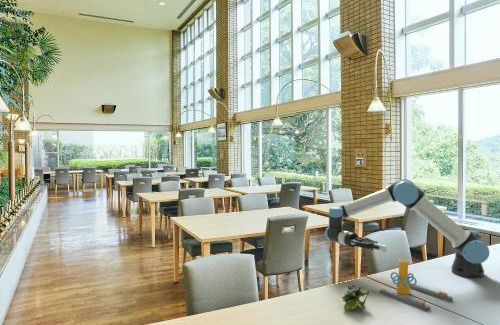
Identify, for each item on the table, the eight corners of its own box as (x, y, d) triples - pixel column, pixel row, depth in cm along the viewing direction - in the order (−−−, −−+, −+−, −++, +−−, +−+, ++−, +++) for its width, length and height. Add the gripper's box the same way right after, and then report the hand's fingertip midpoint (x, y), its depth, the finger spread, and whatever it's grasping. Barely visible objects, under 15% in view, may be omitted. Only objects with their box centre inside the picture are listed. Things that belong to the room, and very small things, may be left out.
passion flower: (351, 316, 161) (359, 290, 166) (370, 321, 152) (378, 293, 156) (333, 306, 157) (342, 279, 162) (352, 310, 148) (361, 282, 153)
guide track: (379, 292, 173) (379, 287, 173) (404, 284, 184) (404, 279, 183) (427, 311, 153) (428, 305, 153) (452, 300, 163) (453, 295, 163)
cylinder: (418, 298, 166) (418, 265, 166) (393, 296, 168) (394, 264, 168) (412, 288, 178) (412, 257, 178) (389, 286, 180) (389, 256, 180)
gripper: (356, 243, 204) (393, 254, 184) (340, 247, 197) (376, 258, 177) (357, 230, 204) (394, 239, 184) (340, 233, 197) (377, 243, 177)
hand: (385, 248), depth 181 cm, fingers closed
